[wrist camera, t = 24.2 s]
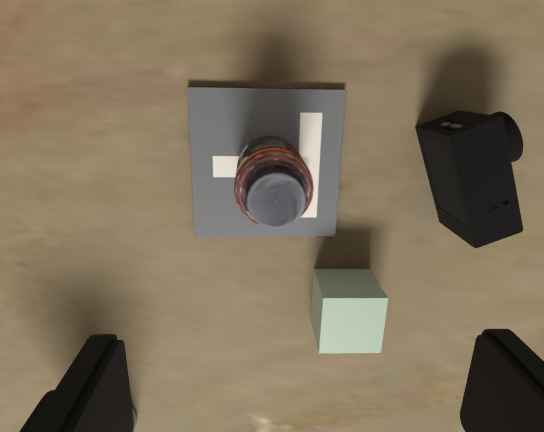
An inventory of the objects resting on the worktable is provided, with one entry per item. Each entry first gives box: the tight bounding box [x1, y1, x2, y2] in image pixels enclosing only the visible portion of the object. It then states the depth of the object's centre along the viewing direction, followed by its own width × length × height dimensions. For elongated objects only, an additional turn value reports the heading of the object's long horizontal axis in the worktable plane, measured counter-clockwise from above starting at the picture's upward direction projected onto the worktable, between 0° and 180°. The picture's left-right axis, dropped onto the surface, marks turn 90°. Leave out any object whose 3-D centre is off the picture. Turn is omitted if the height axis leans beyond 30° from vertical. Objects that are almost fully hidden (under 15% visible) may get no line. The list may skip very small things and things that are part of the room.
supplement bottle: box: [234, 136, 314, 229], centre depth 31 cm, size 6×6×11 cm
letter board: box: [187, 87, 346, 236], centre depth 37 cm, size 14×14×1 cm
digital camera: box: [415, 111, 523, 248], centre depth 35 cm, size 10×5×7 cm, turn 21°
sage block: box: [310, 269, 388, 353], centre depth 39 cm, size 6×6×6 cm
